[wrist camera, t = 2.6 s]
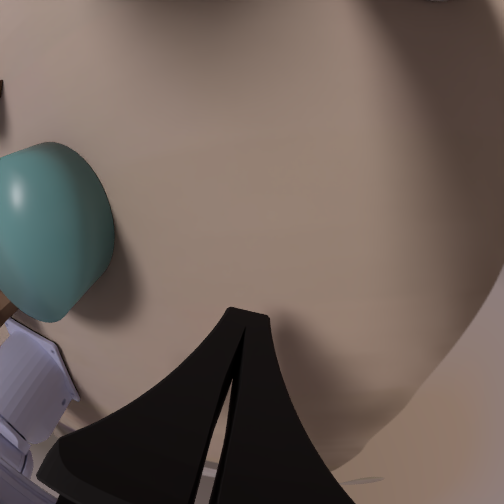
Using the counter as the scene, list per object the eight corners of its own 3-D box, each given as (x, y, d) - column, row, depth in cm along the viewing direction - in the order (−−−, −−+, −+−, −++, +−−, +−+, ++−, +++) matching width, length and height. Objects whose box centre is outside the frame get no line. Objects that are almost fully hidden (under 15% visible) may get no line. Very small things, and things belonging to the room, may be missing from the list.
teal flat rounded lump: (124, 296, 16) (90, 342, 12) (29, 267, 16) (-5, 298, 13) (109, 139, 11) (49, 159, 8) (6, 146, 12) (-40, 165, 8)
